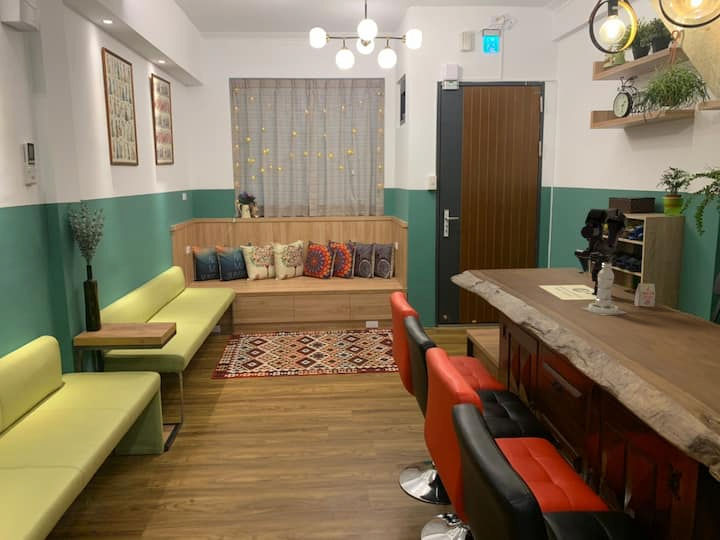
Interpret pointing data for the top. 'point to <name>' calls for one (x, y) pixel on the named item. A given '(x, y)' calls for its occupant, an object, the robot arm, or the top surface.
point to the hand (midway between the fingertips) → (592, 271)
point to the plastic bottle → (604, 286)
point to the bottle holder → (603, 310)
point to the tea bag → (645, 295)
